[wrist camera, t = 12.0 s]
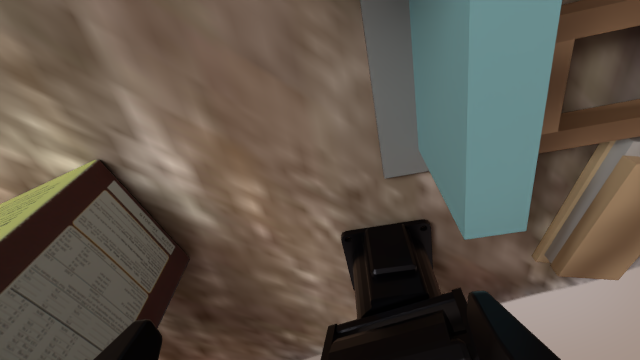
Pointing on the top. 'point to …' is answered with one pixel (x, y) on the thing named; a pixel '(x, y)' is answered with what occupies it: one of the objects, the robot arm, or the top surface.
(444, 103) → the teal block
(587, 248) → the offcut stack
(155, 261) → the protein box
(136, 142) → the top surface
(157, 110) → the top surface
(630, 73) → the top surface
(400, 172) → the charcoal mat
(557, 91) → the walnut rack
